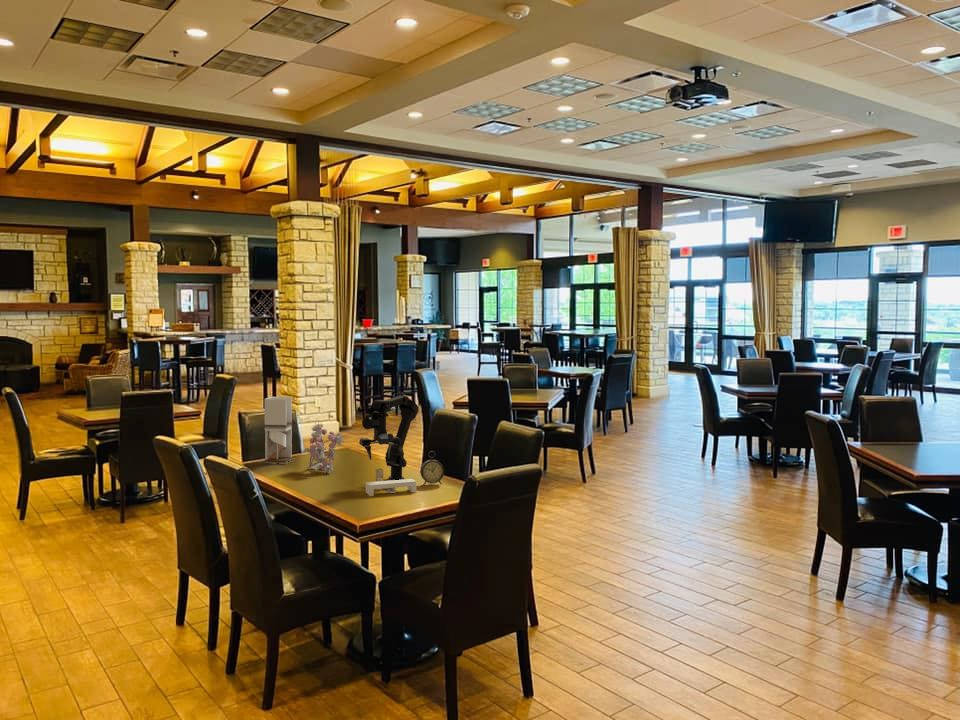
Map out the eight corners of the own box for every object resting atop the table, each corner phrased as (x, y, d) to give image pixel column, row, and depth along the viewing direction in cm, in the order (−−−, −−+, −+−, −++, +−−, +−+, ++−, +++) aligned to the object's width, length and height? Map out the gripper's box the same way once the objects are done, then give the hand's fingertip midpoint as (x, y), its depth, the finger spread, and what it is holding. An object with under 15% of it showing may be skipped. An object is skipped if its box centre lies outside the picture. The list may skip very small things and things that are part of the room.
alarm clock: (421, 486, 352) (421, 452, 351) (419, 483, 357) (419, 450, 356) (444, 485, 355) (444, 451, 354) (441, 482, 360) (442, 449, 359)
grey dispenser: (264, 464, 397) (264, 398, 395) (270, 460, 408) (270, 396, 405) (285, 464, 397) (285, 399, 394) (291, 460, 407) (291, 397, 405)
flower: (287, 472, 371) (308, 428, 367) (296, 458, 393) (317, 417, 389) (324, 489, 373) (345, 446, 369) (331, 475, 395) (351, 434, 391)
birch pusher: (370, 483, 356) (370, 469, 355) (386, 482, 359) (386, 468, 359) (378, 490, 343) (378, 475, 342) (395, 488, 346) (395, 474, 346)
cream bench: (365, 493, 337) (365, 482, 337) (411, 489, 346) (412, 478, 345) (369, 496, 331) (369, 485, 331) (416, 492, 340) (416, 481, 340)
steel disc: (384, 492, 340) (384, 490, 340) (394, 491, 342) (394, 489, 341) (387, 495, 336) (387, 492, 336) (397, 494, 337) (397, 491, 337)
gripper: (365, 430, 343) (365, 463, 344) (404, 428, 350) (403, 461, 351) (359, 426, 353) (359, 459, 354) (396, 424, 361) (396, 456, 362)
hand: (379, 459), depth 355 cm, fingers open, 9 cm apart
